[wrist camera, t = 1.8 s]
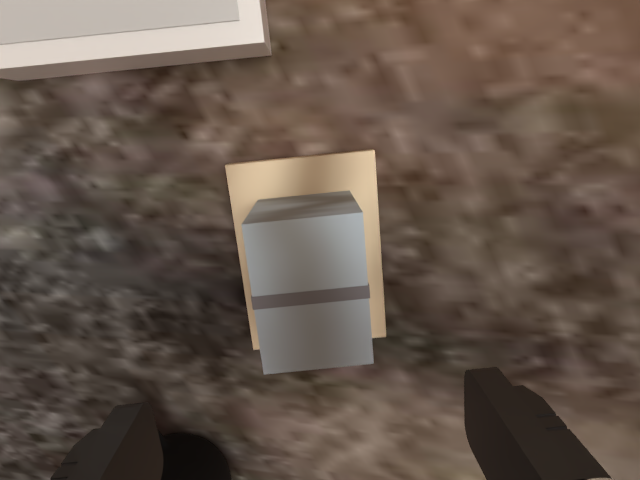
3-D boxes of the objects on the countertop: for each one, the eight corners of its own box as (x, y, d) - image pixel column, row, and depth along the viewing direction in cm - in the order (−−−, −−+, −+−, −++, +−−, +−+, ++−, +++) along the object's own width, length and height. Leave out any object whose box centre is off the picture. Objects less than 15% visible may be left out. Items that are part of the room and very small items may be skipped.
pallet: (368, 147, 25) (396, 159, 17) (379, 319, 28) (408, 398, 20) (232, 161, 25) (196, 179, 17) (257, 331, 28) (237, 415, 20)
